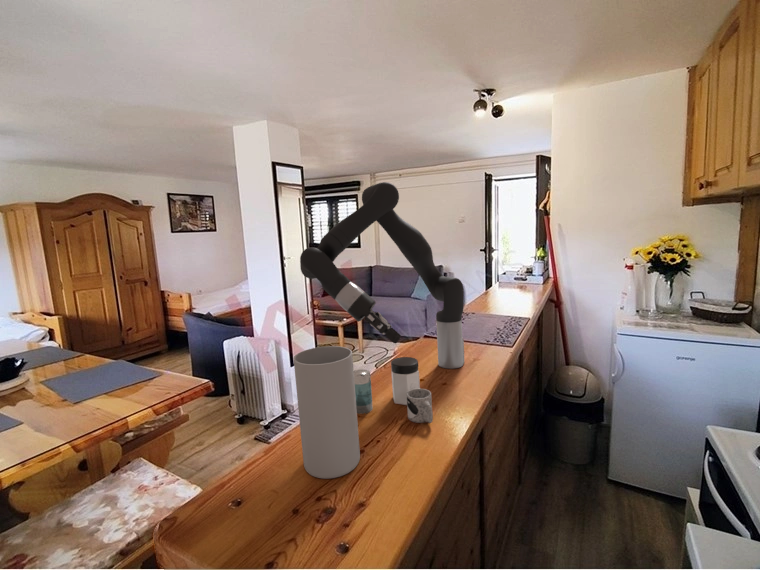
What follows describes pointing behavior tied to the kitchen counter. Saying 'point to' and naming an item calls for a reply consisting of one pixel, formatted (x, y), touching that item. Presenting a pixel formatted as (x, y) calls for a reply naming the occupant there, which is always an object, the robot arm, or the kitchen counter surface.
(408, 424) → the kitchen counter surface
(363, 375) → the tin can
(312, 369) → the cylinder vase
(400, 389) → the jar
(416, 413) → the mug
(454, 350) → the robot arm
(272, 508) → the kitchen counter surface
